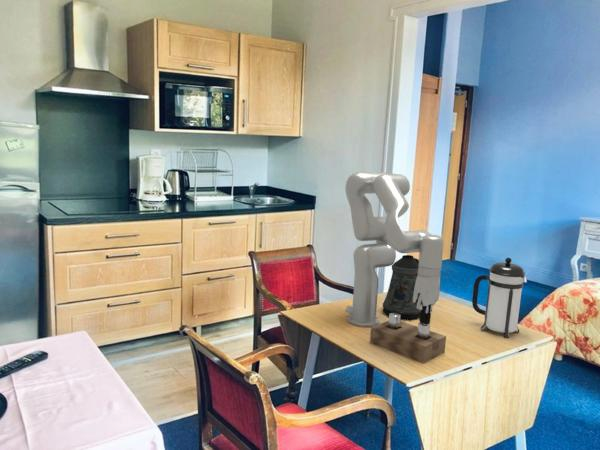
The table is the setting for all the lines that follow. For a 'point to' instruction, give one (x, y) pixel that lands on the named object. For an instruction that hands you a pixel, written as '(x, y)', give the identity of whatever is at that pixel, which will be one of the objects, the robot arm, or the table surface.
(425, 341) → the walnut block
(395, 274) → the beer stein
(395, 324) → the peg
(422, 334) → the peg
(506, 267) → the coffee press
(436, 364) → the table surface
